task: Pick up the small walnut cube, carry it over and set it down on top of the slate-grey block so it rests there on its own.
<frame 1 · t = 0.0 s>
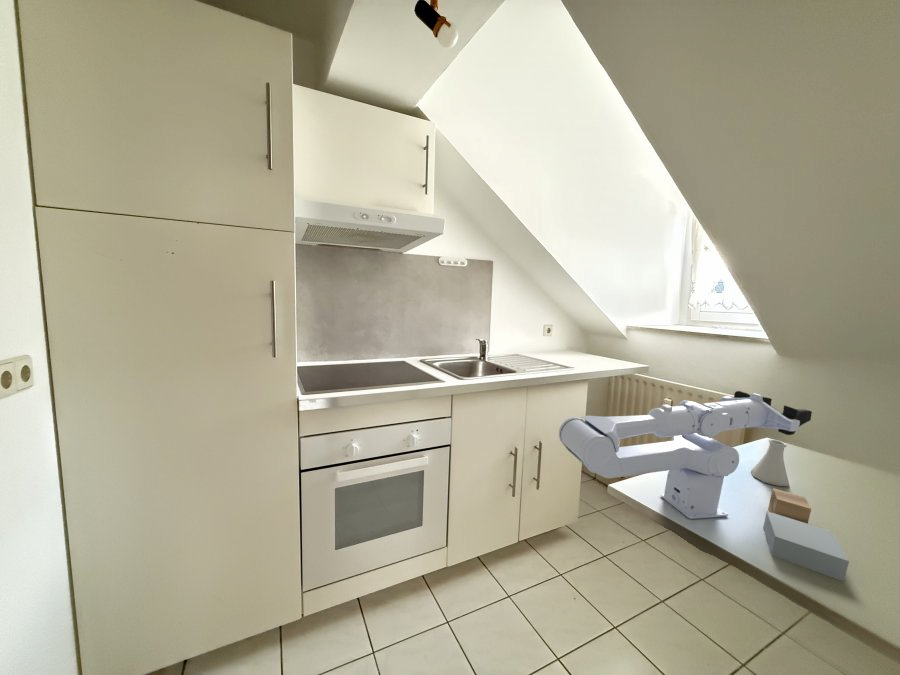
hand: (788, 408, 77), 22 cm above the counter, tool horizontal, fingers open, 7 cm apart
flask: (769, 480, 90), on the counter
walnut cube: (785, 520, 74), on the counter
slate block: (799, 553, 65), on the counter
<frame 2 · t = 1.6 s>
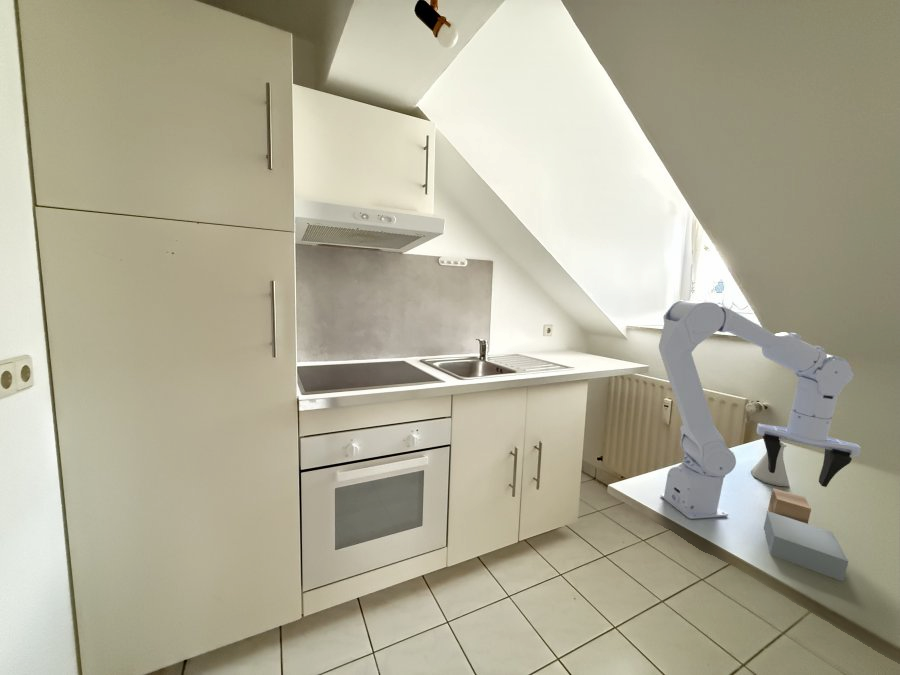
hand: (796, 477, 72), 9 cm above the counter, tool pointing down, fingers open, 7 cm apart
nothing on the counter moved.
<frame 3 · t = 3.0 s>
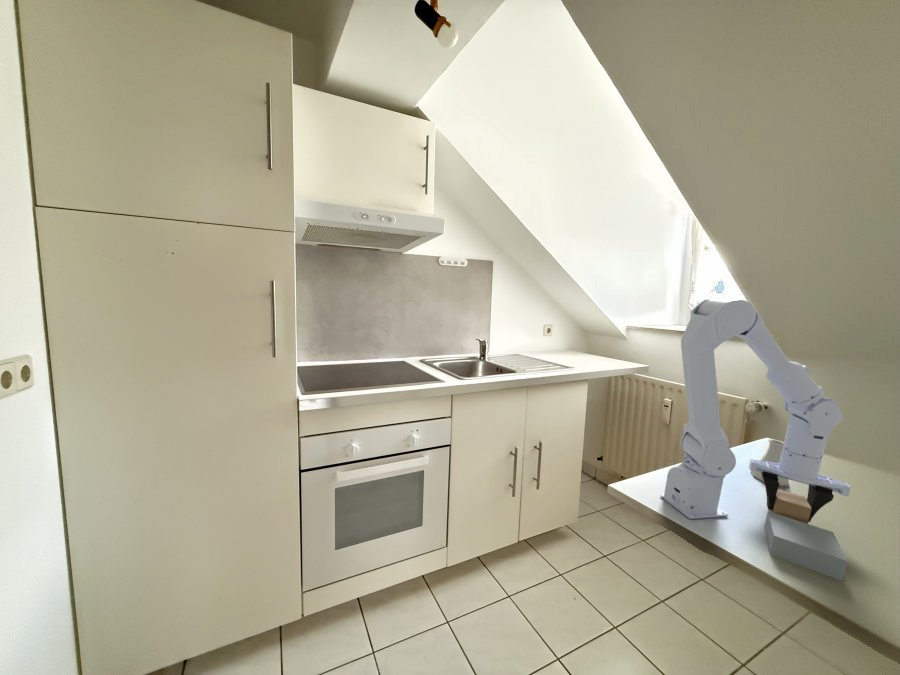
hand: (787, 513, 74), 1 cm above the counter, tool pointing down, fingers closed on walnut cube, 5 cm apart
walnut cube: (786, 519, 74), on the counter, touching gripper
everything else where it was.
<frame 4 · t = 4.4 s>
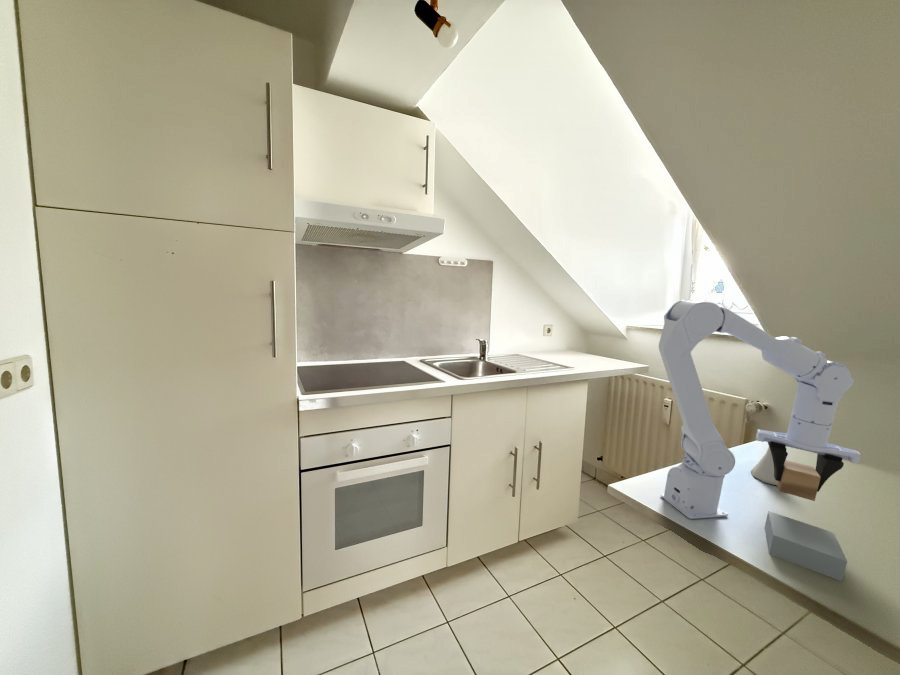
hand: (795, 483, 72), 8 cm above the counter, tool pointing down, fingers closed on walnut cube, 5 cm apart
walnut cube: (793, 490, 72), point 7 cm above the counter, touching gripper
everything else where it was.
when the fingers open (7 cm above the counter, at t = 6.3 s): walnut cube drops 2 cm, point 4 cm above the counter.
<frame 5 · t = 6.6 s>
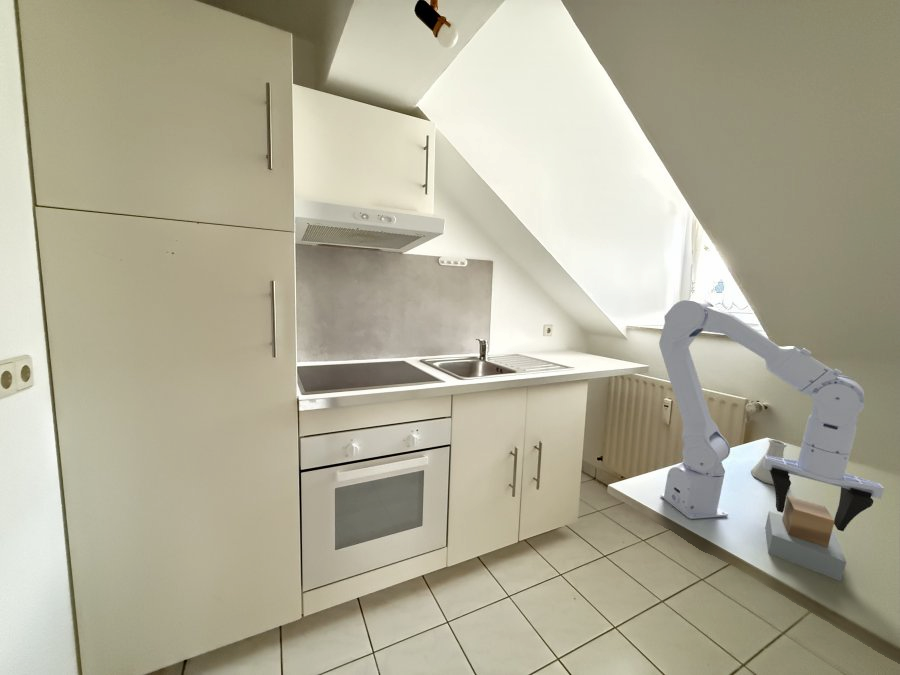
hand: (807, 518, 63), 7 cm above the counter, tool pointing down, fingers open, 7 cm apart
walnut cube: (803, 533, 64), point 4 cm above the counter
everything else where it was.
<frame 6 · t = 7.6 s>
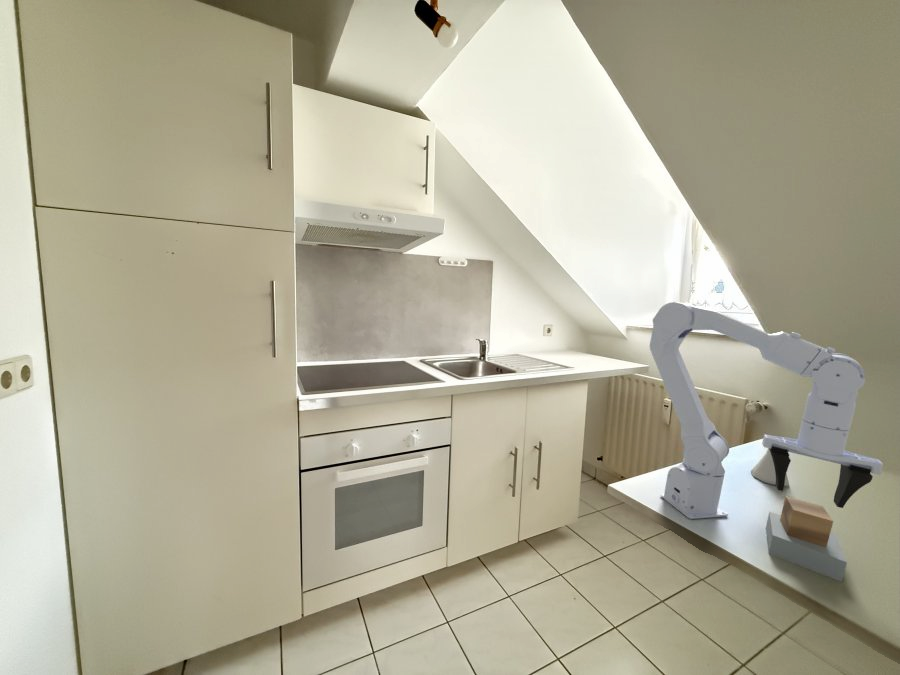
hand: (807, 496, 64), 10 cm above the counter, tool pointing down, fingers open, 7 cm apart
walnut cube: (801, 533, 64), point 4 cm above the counter, touching slate block
slate block: (799, 554, 64), on the counter, touching walnut cube
everything else where it was.
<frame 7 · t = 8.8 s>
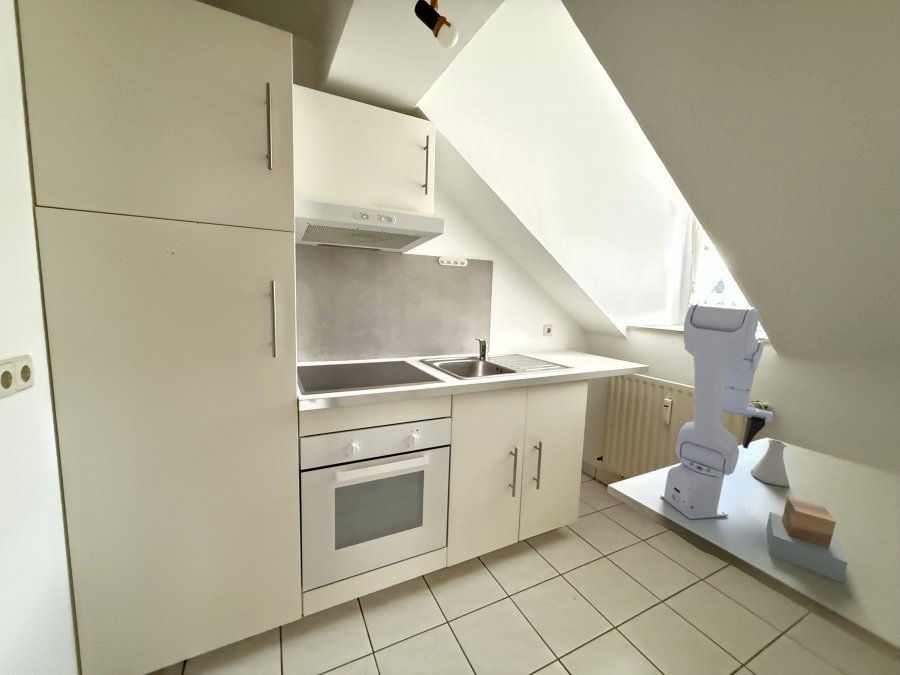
hand: (724, 441, 85), 10 cm above the counter, tool pointing down, fingers open, 7 cm apart
nothing on the counter moved.
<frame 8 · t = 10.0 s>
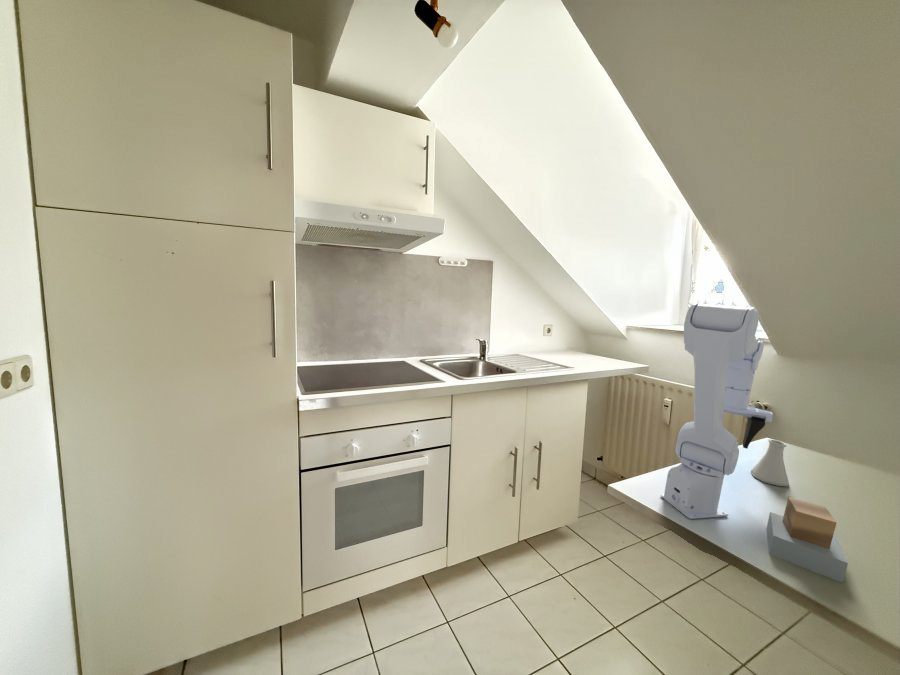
hand: (724, 441, 85), 10 cm above the counter, tool pointing down, fingers open, 7 cm apart
nothing on the counter moved.
at the end: walnut cube 0.1 cm off-centre on the slate block, point 4.0 cm above the slate block's base; walnut cube tilted 1°; the gripper is holding nothing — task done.
